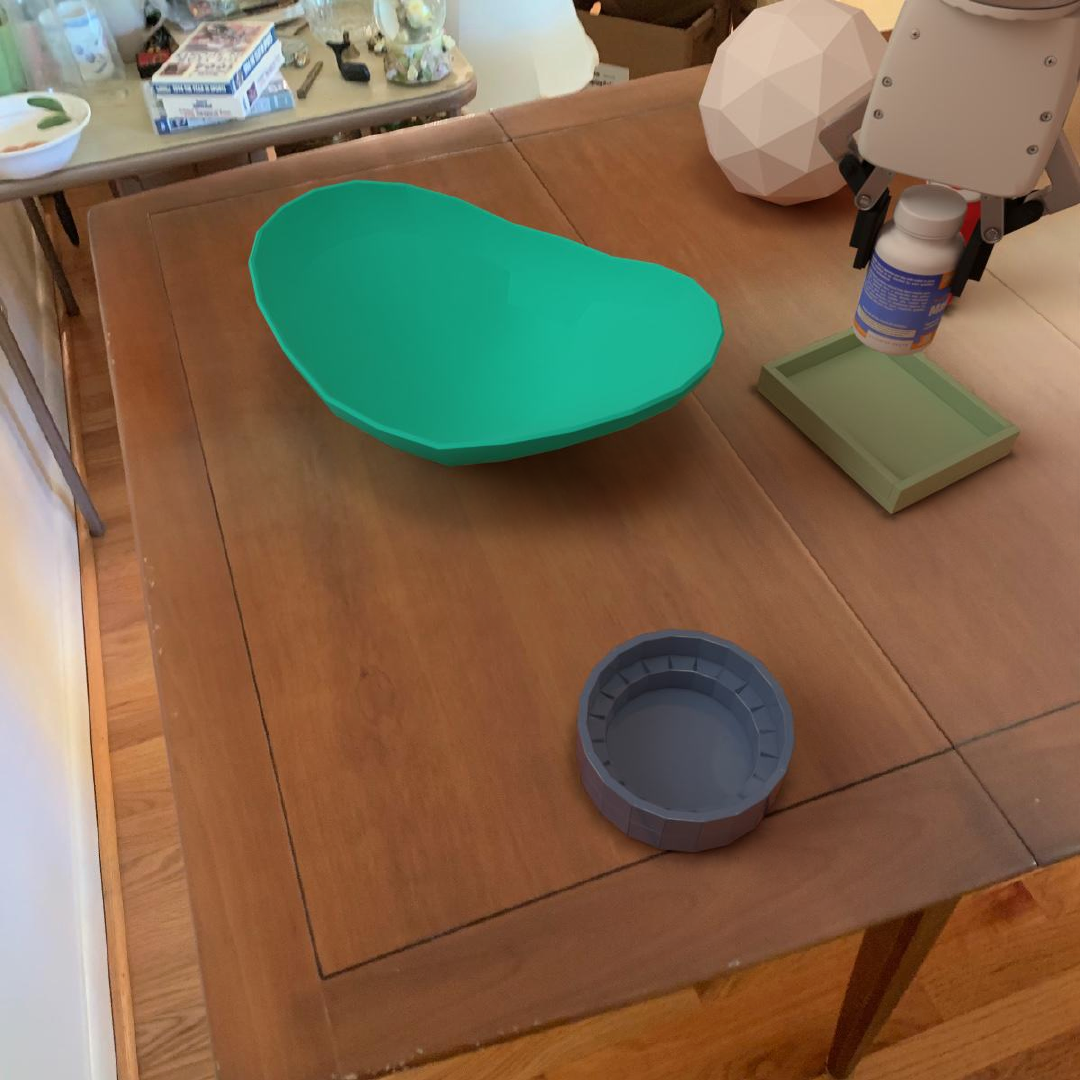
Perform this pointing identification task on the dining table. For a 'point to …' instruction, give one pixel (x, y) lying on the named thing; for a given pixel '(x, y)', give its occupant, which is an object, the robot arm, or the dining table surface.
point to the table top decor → (472, 324)
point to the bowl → (683, 739)
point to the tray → (886, 417)
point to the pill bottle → (911, 271)
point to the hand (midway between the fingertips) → (912, 268)
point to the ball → (787, 95)
